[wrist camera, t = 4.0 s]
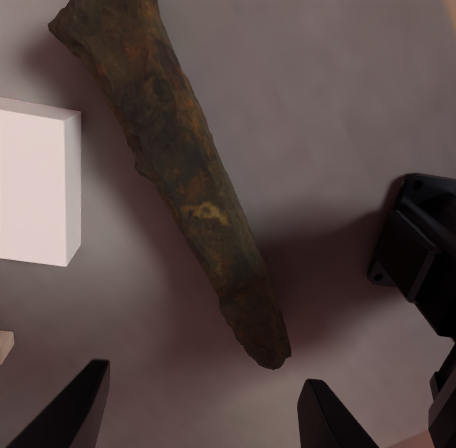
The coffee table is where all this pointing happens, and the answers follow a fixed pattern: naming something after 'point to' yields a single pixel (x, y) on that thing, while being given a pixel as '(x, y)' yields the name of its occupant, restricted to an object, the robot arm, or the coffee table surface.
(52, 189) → the tile
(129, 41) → the hand tool
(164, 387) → the coffee table surface
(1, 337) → the wooden tray
